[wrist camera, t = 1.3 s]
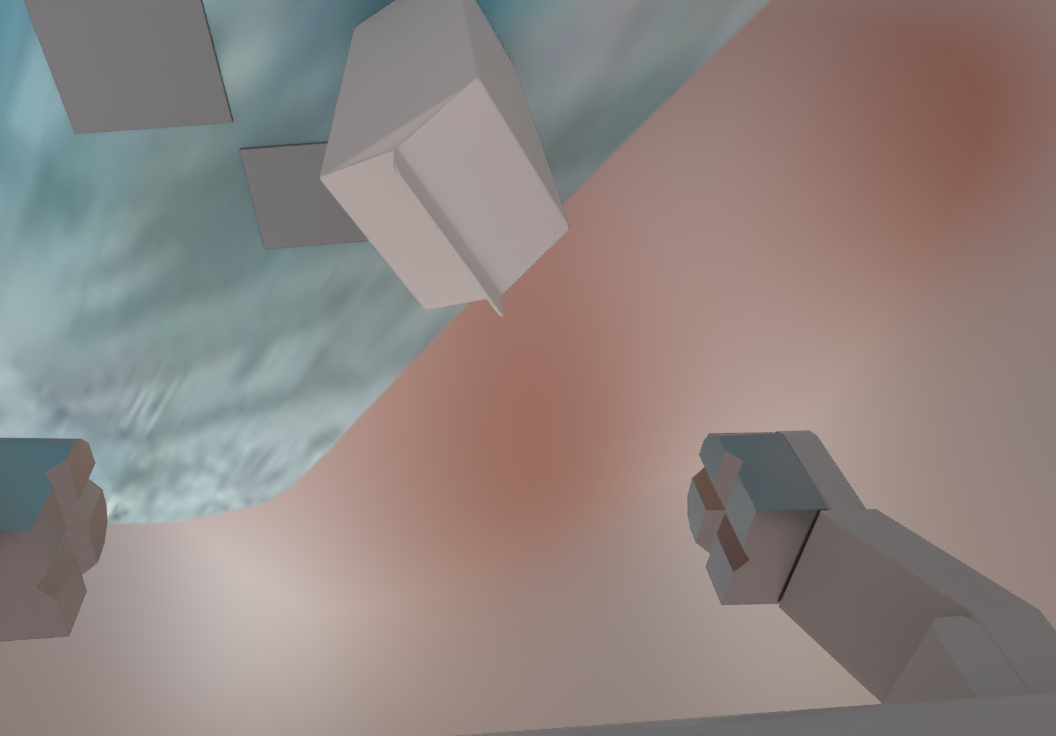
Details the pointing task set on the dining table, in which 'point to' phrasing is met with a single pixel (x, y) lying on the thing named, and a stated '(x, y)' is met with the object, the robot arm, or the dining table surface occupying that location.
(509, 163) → the milk
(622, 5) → the dining table surface
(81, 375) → the dining table surface
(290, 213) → the grey square coaster
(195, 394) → the dining table surface
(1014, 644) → the robot arm
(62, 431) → the dining table surface
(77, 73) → the thin grey square tile
